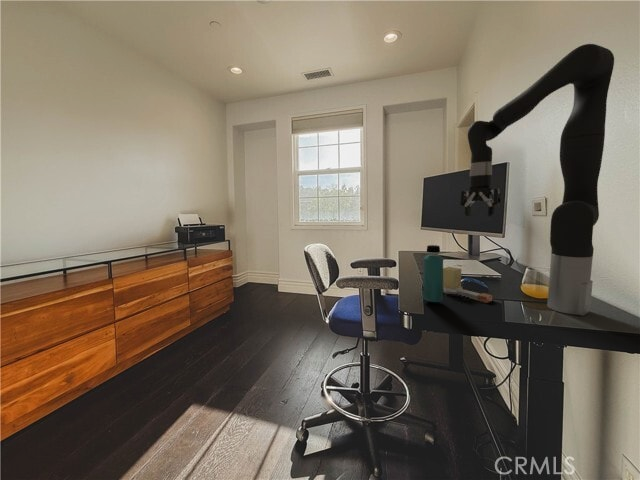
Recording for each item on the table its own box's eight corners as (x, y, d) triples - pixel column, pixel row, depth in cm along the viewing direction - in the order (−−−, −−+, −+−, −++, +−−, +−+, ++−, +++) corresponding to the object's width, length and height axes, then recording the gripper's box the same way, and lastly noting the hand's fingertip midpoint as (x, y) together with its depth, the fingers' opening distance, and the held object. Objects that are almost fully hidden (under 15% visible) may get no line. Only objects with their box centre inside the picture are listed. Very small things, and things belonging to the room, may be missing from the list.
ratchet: (434, 291, 105) (435, 278, 104) (446, 287, 109) (447, 275, 108) (483, 304, 90) (484, 290, 89) (495, 299, 94) (495, 285, 93)
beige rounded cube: (460, 287, 102) (461, 269, 101) (453, 289, 100) (453, 271, 99) (448, 284, 106) (448, 266, 106) (440, 286, 104) (441, 268, 103)
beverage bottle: (446, 306, 89) (448, 246, 87) (426, 306, 89) (427, 247, 87) (437, 299, 96) (439, 243, 93) (419, 300, 96) (420, 244, 93)
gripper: (505, 173, 102) (503, 216, 104) (467, 177, 114) (466, 215, 116) (495, 172, 98) (493, 217, 100) (457, 176, 110) (456, 216, 112)
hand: (478, 216), depth 108 cm, fingers open, 8 cm apart
